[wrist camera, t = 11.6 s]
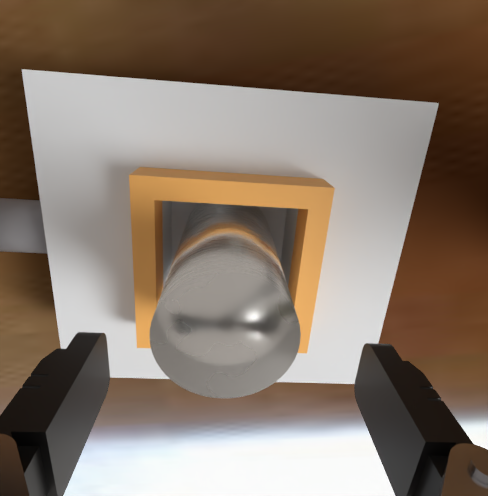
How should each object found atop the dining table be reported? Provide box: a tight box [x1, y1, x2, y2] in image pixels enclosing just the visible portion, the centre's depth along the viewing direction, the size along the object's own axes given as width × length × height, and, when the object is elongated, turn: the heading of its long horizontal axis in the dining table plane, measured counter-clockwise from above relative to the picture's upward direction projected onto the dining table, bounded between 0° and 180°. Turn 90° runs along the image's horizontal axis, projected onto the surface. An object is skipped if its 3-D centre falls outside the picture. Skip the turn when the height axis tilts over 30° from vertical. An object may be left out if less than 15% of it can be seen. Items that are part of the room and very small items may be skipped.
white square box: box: [0, 69, 439, 384], centre depth 20 cm, size 22×16×8 cm
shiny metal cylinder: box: [149, 203, 301, 398], centre depth 17 cm, size 5×5×10 cm
